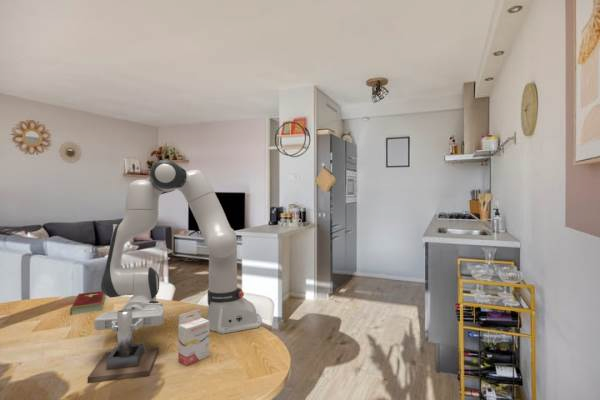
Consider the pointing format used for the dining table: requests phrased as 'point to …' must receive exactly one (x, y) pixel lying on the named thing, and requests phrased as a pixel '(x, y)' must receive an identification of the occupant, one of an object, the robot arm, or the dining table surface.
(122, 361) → the socket collar
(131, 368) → the socket board
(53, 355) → the dining table surface
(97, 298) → the hardcover book
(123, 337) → the steel pin
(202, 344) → the ink cartridge box
